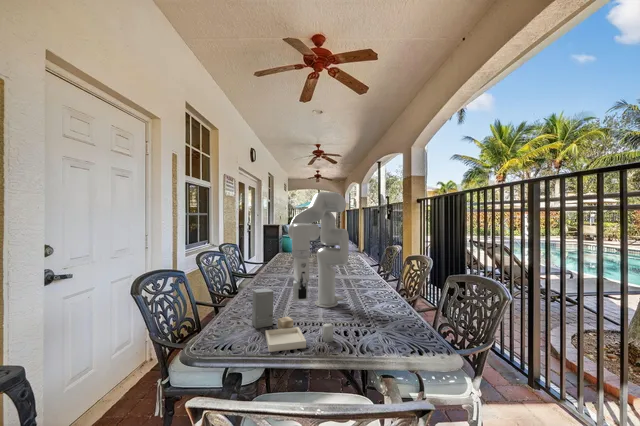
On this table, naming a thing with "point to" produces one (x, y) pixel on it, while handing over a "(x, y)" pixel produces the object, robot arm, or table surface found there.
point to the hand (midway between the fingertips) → (300, 295)
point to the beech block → (285, 323)
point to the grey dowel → (327, 332)
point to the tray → (284, 339)
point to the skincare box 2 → (295, 291)
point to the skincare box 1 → (262, 308)
